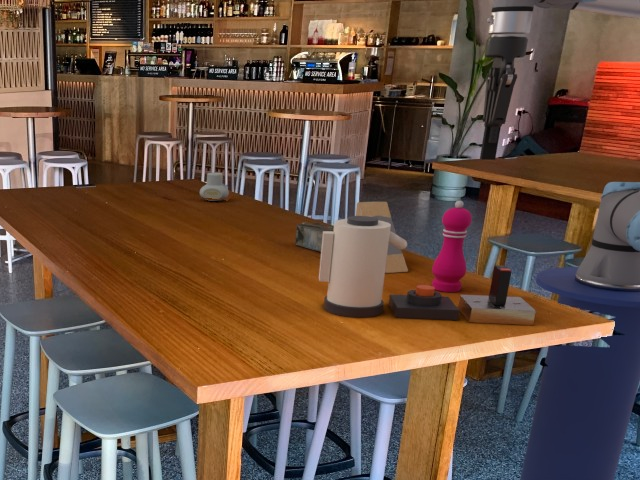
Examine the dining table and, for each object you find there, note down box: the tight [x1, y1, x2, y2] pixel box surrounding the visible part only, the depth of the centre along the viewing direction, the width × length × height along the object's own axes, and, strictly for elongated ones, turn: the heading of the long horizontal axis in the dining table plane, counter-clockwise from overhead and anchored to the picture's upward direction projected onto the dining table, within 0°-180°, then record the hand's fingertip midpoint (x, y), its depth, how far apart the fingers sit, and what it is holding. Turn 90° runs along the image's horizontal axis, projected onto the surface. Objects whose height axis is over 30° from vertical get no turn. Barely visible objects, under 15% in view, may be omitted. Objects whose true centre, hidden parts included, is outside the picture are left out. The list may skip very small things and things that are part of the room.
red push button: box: [415, 284, 436, 296], centre depth 163 cm, size 4×4×2 cm
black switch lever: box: [488, 264, 512, 306], centre depth 159 cm, size 5×2×7 cm, turn 171°
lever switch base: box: [457, 294, 537, 326], centre depth 161 cm, size 12×10×3 cm
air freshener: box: [199, 172, 230, 202], centre depth 297 cm, size 11×8×10 cm
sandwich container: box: [355, 201, 409, 274], centre depth 200 cm, size 9×15×15 cm, turn 11°
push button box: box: [388, 289, 460, 321], centre depth 164 cm, size 12×10×4 cm
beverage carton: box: [294, 221, 334, 253], centre depth 217 cm, size 8×19×7 cm, turn 28°
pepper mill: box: [431, 200, 473, 293], centre depth 178 cm, size 7×7×20 cm
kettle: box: [318, 215, 408, 319], centre depth 163 cm, size 17×12×19 cm
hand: (487, 159), depth 165 cm, fingers closed
